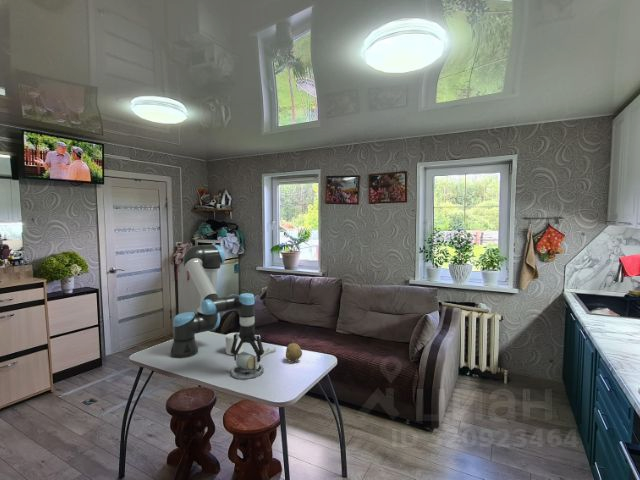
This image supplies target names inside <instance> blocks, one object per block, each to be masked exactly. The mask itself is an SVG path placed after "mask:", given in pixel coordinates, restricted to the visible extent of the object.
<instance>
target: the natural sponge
mask: <svg viewBox="0 0 640 480" xmlns="http://www.w3.org/2000/svg"><path fill="white" fill-rule="evenodd" d="M302 357H303V350H302V349H301V346H300V345H299V344H297V343H296V342H293V343H292V342H291V343H289V344H288V345H287V346H286V349H285V359H286V360H288V361H290V362H295V361H297V360H299V359H300V358H302Z"/></svg>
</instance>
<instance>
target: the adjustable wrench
mask: <svg viewBox="0 0 640 480" xmlns="http://www.w3.org/2000/svg"><path fill="white" fill-rule="evenodd" d="M263 350H264V354H263V355H260V360H261V359H262V358H264V357H266V356H268V355H270V354H274V353H276V351H277V349H276V347H273V349H270V347H267V348H265V349H263Z"/></svg>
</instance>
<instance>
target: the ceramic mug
mask: <svg viewBox="0 0 640 480" xmlns="http://www.w3.org/2000/svg"><path fill="white" fill-rule="evenodd" d="M255 356H256V355H253V354H251V353H248V352H247V351H244V352H241V353H240V354H239V355H238V357H237V361H235V363H236V362H237V365H238V366H239V367H241V368H244V369H247V370H252V369H253V368H254V367H255Z"/></svg>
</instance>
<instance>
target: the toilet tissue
mask: <svg viewBox="0 0 640 480" xmlns="http://www.w3.org/2000/svg"><path fill="white" fill-rule="evenodd" d="M236 333H237V334H240V332H231V333H227V334H226V335H225V354H227V355H231V356H234V354H233V353H231V348H232V345H233V341H234V335H235V334H236ZM240 341H241V339H240V337H239V338H238V340H237V344H236V348H235V350H236V349H237V347H238V345H239V343H240ZM241 352H245V343H244V342H243V344H242V346H241V348H240V350H239V352H238V353H239V354H240V353H241Z"/></svg>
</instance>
